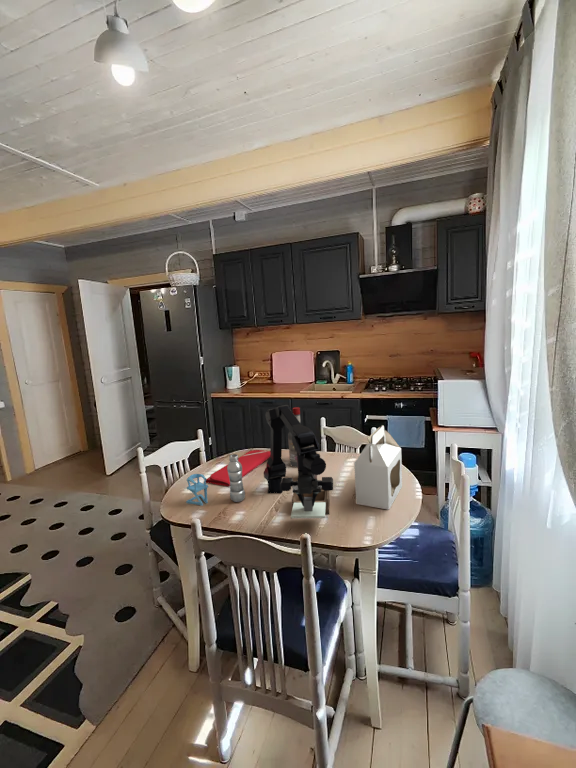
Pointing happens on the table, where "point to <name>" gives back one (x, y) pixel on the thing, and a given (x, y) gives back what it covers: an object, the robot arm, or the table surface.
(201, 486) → the chair
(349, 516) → the table surface
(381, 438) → the gable box
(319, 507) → the cover plate
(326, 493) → the walnut box
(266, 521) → the table surface
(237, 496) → the plastic bottle
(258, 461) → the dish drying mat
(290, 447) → the liquor
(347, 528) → the table surface
